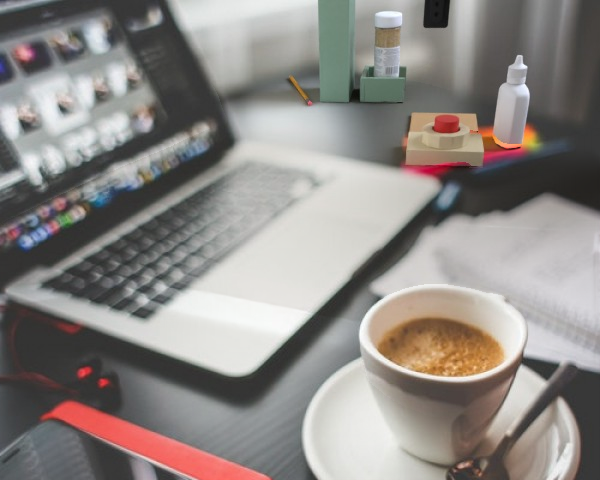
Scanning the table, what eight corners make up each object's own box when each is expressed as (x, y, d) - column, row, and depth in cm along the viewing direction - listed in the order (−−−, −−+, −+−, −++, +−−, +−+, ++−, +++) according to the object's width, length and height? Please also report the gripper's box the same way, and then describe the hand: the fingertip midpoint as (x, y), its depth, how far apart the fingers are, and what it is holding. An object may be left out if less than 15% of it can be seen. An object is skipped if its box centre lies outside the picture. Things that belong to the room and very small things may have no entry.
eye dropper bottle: (524, 138, 91) (538, 51, 84) (520, 151, 87) (535, 61, 80) (493, 135, 92) (505, 50, 86) (488, 148, 88) (500, 60, 81)
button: (457, 127, 85) (459, 114, 84) (458, 135, 83) (459, 122, 82) (433, 126, 86) (435, 114, 85) (433, 135, 83) (434, 122, 82)
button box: (479, 148, 88) (483, 120, 86) (482, 168, 83) (486, 138, 80) (407, 146, 90) (409, 119, 88) (405, 165, 84) (407, 136, 82)
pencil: (312, 106, 108) (312, 101, 107) (308, 106, 107) (308, 101, 107) (291, 77, 123) (291, 73, 122) (287, 77, 123) (287, 73, 122)
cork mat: (475, 117, 99) (475, 113, 99) (478, 139, 91) (479, 135, 91) (411, 116, 101) (411, 112, 101) (408, 137, 93) (409, 133, 93)
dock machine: (405, 88, 114) (412, -30, 103) (403, 103, 106) (409, -21, 96) (327, 86, 116) (325, -28, 106) (319, 102, 109) (316, -20, 98)
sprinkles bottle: (396, 90, 113) (400, 9, 105) (400, 98, 109) (404, 14, 101) (370, 92, 113) (372, 11, 105) (374, 99, 109) (376, 16, 101)
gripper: (487, -145, 66) (467, 39, 77) (477, -143, 78) (461, 15, 89) (415, -141, 67) (405, 39, 78) (416, -141, 80) (407, 16, 90)
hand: (435, 26), depth 83 cm, fingers closed
